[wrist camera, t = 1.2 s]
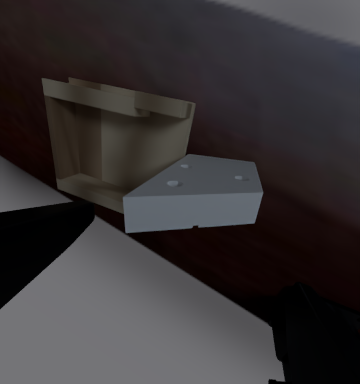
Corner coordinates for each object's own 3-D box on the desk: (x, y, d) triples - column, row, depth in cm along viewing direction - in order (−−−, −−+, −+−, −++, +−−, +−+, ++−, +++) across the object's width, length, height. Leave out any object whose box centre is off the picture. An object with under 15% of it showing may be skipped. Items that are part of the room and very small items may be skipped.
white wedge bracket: (132, 153, 15) (122, 197, 7) (237, 154, 17) (318, 190, 9) (134, 191, 16) (128, 262, 9) (230, 188, 18) (295, 244, 11)
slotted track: (195, 103, 14) (182, 99, 11) (173, 213, 19) (159, 232, 16) (77, 79, 17) (40, 70, 13) (84, 182, 21) (58, 192, 18)
